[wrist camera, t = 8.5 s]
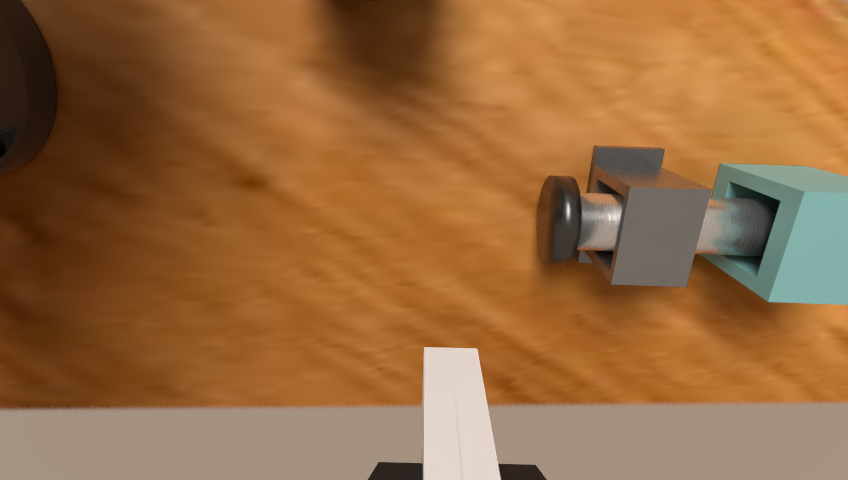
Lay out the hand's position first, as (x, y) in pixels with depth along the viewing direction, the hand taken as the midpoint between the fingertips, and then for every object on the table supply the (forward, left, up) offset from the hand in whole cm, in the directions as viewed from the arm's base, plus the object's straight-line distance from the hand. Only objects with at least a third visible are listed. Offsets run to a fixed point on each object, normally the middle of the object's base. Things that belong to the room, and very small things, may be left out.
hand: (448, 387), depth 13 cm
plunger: (+15, 0, -20) cm, 25 cm away
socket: (+22, 0, -21) cm, 30 cm away
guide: (+13, 0, -21) cm, 24 cm away
